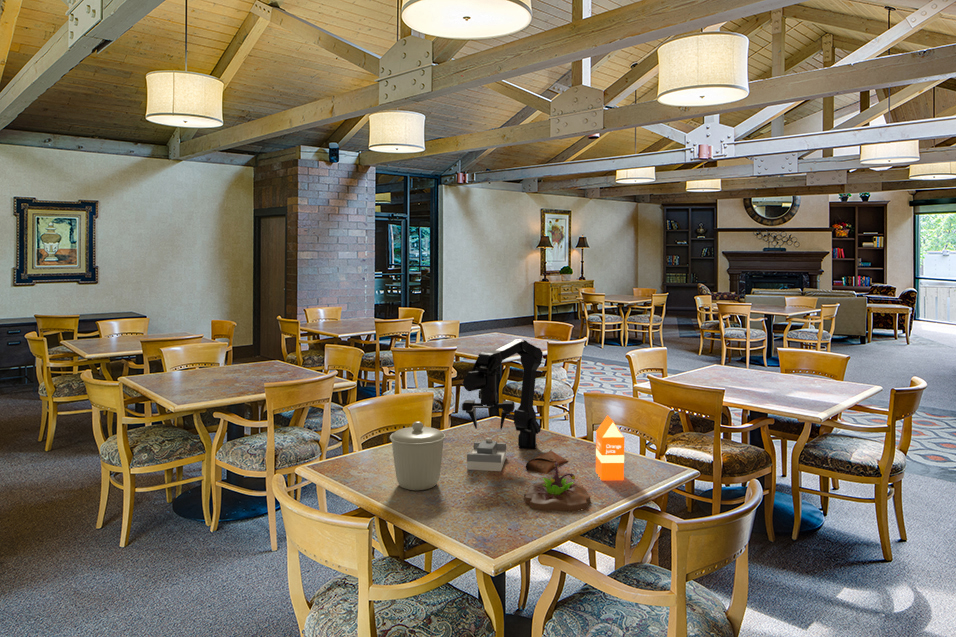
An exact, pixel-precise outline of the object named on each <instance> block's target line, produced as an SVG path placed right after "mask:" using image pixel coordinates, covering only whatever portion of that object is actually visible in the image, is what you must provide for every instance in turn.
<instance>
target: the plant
mask: <svg viewBox="0 0 956 637" xmlns="http://www.w3.org/2000/svg"><path fill="white" fill-rule="evenodd" d="M554 466H555V469H554V474H553V476H551V477H550V479H548V478H546V477H542V479H543V482H535V483H533V484H531V485H530V486H528V490H527V492H525V493H524V494H523V497H524V498H523V500H524V504H526V505H529V508H531V509H532V510H535V511H542V512H543V511H545V512H546V511H548V512H549V511H550V510H551V511H555V510H557V511H560V512H568V511H570V513H572V511H573V512H578V510H580V511H582V510H581V509H583V510H587V509H588V505H590V504H591V496H590V495H589V493H588V490H587V489H586V487H584V486H582V485H578V484H576V483H575V482H574V481H570V482H567V478H565V477H567V476H570V479H571V480H576V475H575V474H573V473H569V472H568V473H565V474H563V475H561V476H560V475H559V467H560V466H559V464H558V463H555V464H554ZM589 503H590V504H589ZM587 504H588V505H587ZM586 508H587V509H586Z"/></svg>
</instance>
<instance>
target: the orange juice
mask: <svg viewBox="0 0 956 637" xmlns="http://www.w3.org/2000/svg"><path fill="white" fill-rule="evenodd" d="M595 432H596V434H595V437H596V438H595V473H596V474H598V475H597V476H598V478H599V477H600V478H599V480H601V481H624V479H625V476H624V475H625V469H624V468H625V437H624V435H623V434H622V433H621V431H620V429H619V428H618V426H617V425H616V424H615V422H614V420H613V419H612V418H611V417H610V416H609V415H606V417H605V418H604V420H603V421H602V422H601V423H600V425H599V426H598V428H597V429H596V430H595Z"/></svg>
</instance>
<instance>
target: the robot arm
mask: <svg viewBox="0 0 956 637" xmlns="http://www.w3.org/2000/svg"><path fill="white" fill-rule="evenodd" d="M515 354H517V355H519V356H520V364H521V365H522V369H523V373H522V383H521V384H522V385H521V392H520V393H521V395H520V403H519V406H518V408H517V409H515V407H516V406H515V405H516V404H515V401H513V400H503V402H502V403H499V402H498V392H497V374H500V373H501V371H500V370H499V369H498V367H499V366H501V365H502V362H503V361H505V360H506V359H508V358H510V357H512V356H514V355H515ZM543 355H544V353H543V351H542V349H541V348H540V347H537V346H536V345H533V344H532V343H529V342H528V341H527V340H526V339H519V338H515V339H513V341H511V342H509V343H507V344H505V345H503V346H501V347H499V348H497V349H494V350H486V351H481V352H480V353H478V356H477V359H476V360H475V363H474V365H473V367H472V369H471V371H467V372H466V375H465V376H464V378H463V381H462V384H463V385H462V386H463V388H464V389H465V390H466V391H467V392H474V391H478V399H479V400H480V402H476V401H475V400H476V399H475V400H474V399H465V400H464V401H463V402H462V404H461V410H462V411H463V412H464V411H465V413H466V414H468V415H469V417H470V419H471V421H472V423H473V426H474V428H475V429H476V430H477V429H478V422H477V419H478V418H477V413H476V412H477V409H495V410H496V409H502V411H501V415H500V430H502V429H503V426H504V422H505V420H506V417H507V415H510V414H511V413H513V418H512V420H513V423H514V427H515V430H516V431H517V432H519V434H518V438H517V439H518V442H517V443H518V444H517V445H518V448H519V449H529V450H536V449H537V445H538V444H537V435H538V434H539V433H540V432H541V430H542V426H541V425H540V424H539V423H538V421H537V414H536V411H535V409H534V399H535V398H534V397H535V389H536V388H535V387H536V376H537V370H538V368H539V367H540V366H541V364H542V360H543Z"/></svg>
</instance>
